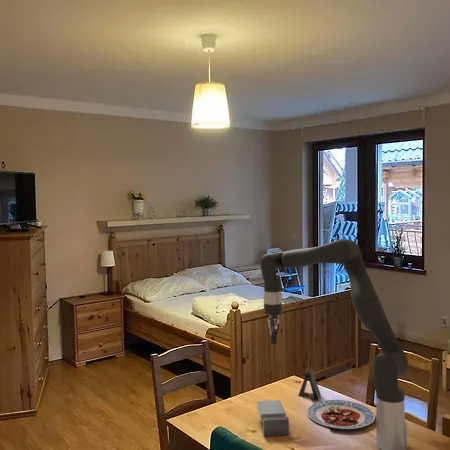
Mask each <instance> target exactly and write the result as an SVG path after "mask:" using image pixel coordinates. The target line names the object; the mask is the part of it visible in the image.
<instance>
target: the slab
mask: <svg viewBox="0 0 450 450" xmlns="http://www.w3.org/2000/svg"><path fill="white" fill-rule="evenodd" d="M281 401H282V400H281V399H275V400H274V399H273V400H272V399H271V400H257V401H256V402H257V403H256V404H257V405H256V406H257V407H256V408H257V411H258V414H259V418H260V421H261V422H262V421H263V418H270V417H287V415H286V411H285V408H284V406H283V404H282V402H281Z"/></svg>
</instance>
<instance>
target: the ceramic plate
mask: <svg viewBox="0 0 450 450" xmlns="http://www.w3.org/2000/svg"><path fill="white" fill-rule="evenodd" d="M306 412H307V415H308V416H307V417H309V418H310V419H311V420H312V421H314V422H315V423H317V424H319V425H321V426H324V427H325V426H326V427H328V428H333V429H340V430H354V429H360V428H365V427H367V426H369V425H371V424H372V423H373V422H374V421H375V418H376V414H375V413H374V411H373V410H372V409H371V408H369V407H368V406H366V405H364V404H362V403H358V402H355V401H351V400H345V399H342V400H341V399H326V400H321V401H317V402H314V403H313V404H311V405H310V406H309V407H308V409H307V411H306ZM317 412H318V413H319V415H320V418H321V419H322V420H321V419H319V417H318V416H317Z"/></svg>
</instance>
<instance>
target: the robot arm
mask: <svg viewBox="0 0 450 450" xmlns="http://www.w3.org/2000/svg"><path fill="white" fill-rule="evenodd" d="M316 264H338V265H342V266H343V267H344V270H345V272H346V274H347V277H348V279H349V286H350V297H351V299H350V300H351V304H352V307H353V308H354V311H355V313H356V316H357V318H358V319H359V321H360V322H361V324H363V326H364V327H365V328H366V329H367V330H368V331H369V332H370V333H371V334H372V336H374V337H375V339H376V342H377V343H378V345H379V348H380V350H381V352H380V353H378V354H377V355H376V356H374V359H373V363H372V376H373V377H372V379H373V388H374V391H375V394H376V395H375V397H376V398H375V399H376V400H375V401H376V404H375V405H376V406H375V407H376V410H375V411H376V414H375V418H376V421H375V422H376V423H375V424H376V429H375V430H376V447H377V448H378V449H379V450H408V423H407V421H406V419H405V413H406V412H405V390H404V389H403V388H402V387H399V377H402V376H403V375H405V374H406V373H408V370H409V360H408V358H407V354H406V353H405V351H404V349H403V348H402V346H401V344H400V342H399V340H398V339H397V336H396V334H395V332H394V330H393V328H392V327H391V324H390V321H389V320H388V317H387V315H386V313H385V310H384V308H383V305H382V302H381V300H380V298H379V295H378V294H377V292H376V289H375V287H374V285H373V282H372V280H371V277H370V276H369V273H368V271H367V268H366V266H365V262H364V259H363V255H362V252H361V250H360V247H359V245H358V244H357V243H356V242H355V241H353V240H352V239H349V238H348V239H346V238H343V239H341V238H340V239H337V240H333V241H332V242H331V241H330V242H329V243H328V242H327V243H326V244H322V245H319V246H315V247H305V248H298V249H291V250H290V249H289V250H286V251H276V252H270V253H266V254H264V255H262V257H261V259H260V264H259V265H260V267H259V268H260V271H261V274H262V278H263V290H264V291H263V313H264V314H265V315H267V316H268V317H267V322H268V330H269V334H270V344H271V345H277V344H278V342H277V341H278V340H277V336H278V334H279V328H280V325H279V323H280V320H279V319H280V318H279V317H278V316H279V315H282V314H283V293H282V278H281V277H280V276H278V275H277V272H276V270H282V269H295V268H302V267H308V266H311V265H316Z"/></svg>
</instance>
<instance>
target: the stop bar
mask: <svg viewBox="0 0 450 450" xmlns="http://www.w3.org/2000/svg"><path fill="white" fill-rule="evenodd" d="M289 420H290V419H289V417H288V416H286V417H270V418H263V422H262V435H263V438H273V437H275V438H276V437H290V429H289V428H290V425H289V424H290V422H289Z"/></svg>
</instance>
